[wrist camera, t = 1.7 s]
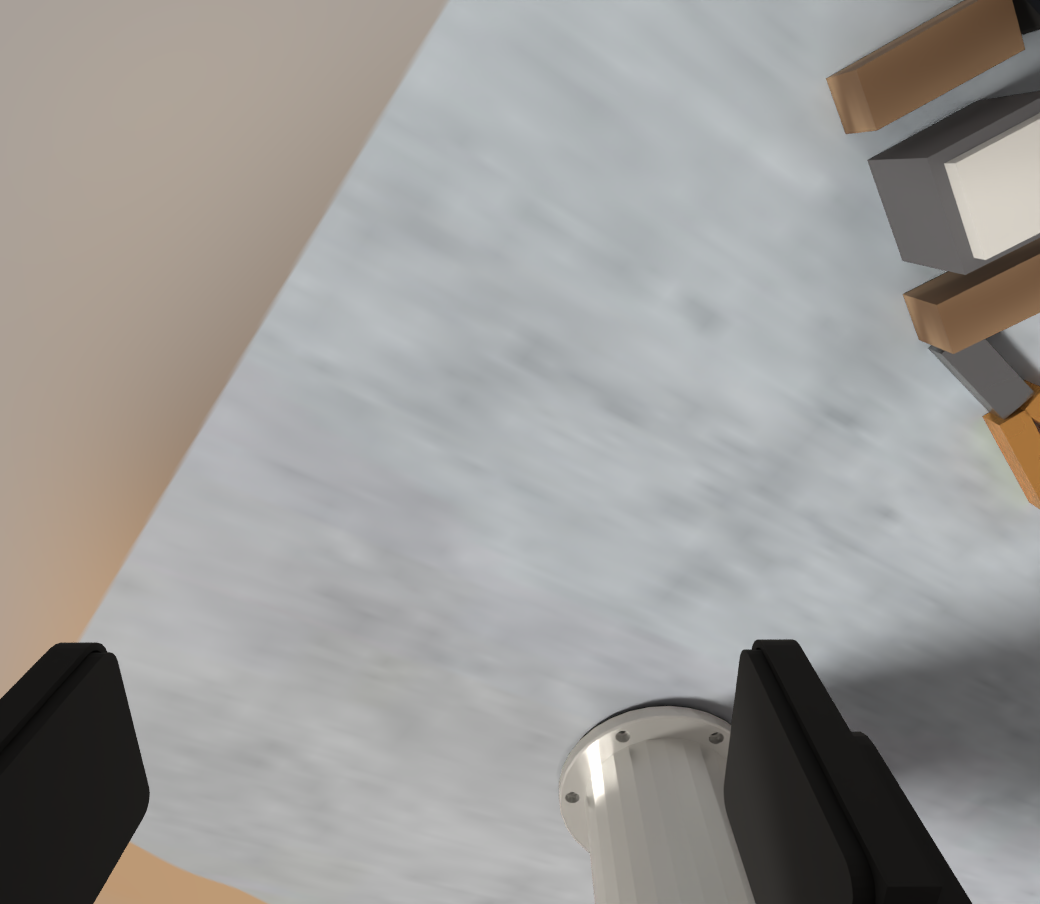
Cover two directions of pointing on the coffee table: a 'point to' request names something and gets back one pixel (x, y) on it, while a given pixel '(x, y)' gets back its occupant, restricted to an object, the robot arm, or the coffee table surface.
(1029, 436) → the cutter
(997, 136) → the grey box
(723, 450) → the coffee table surface
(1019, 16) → the black layered block
